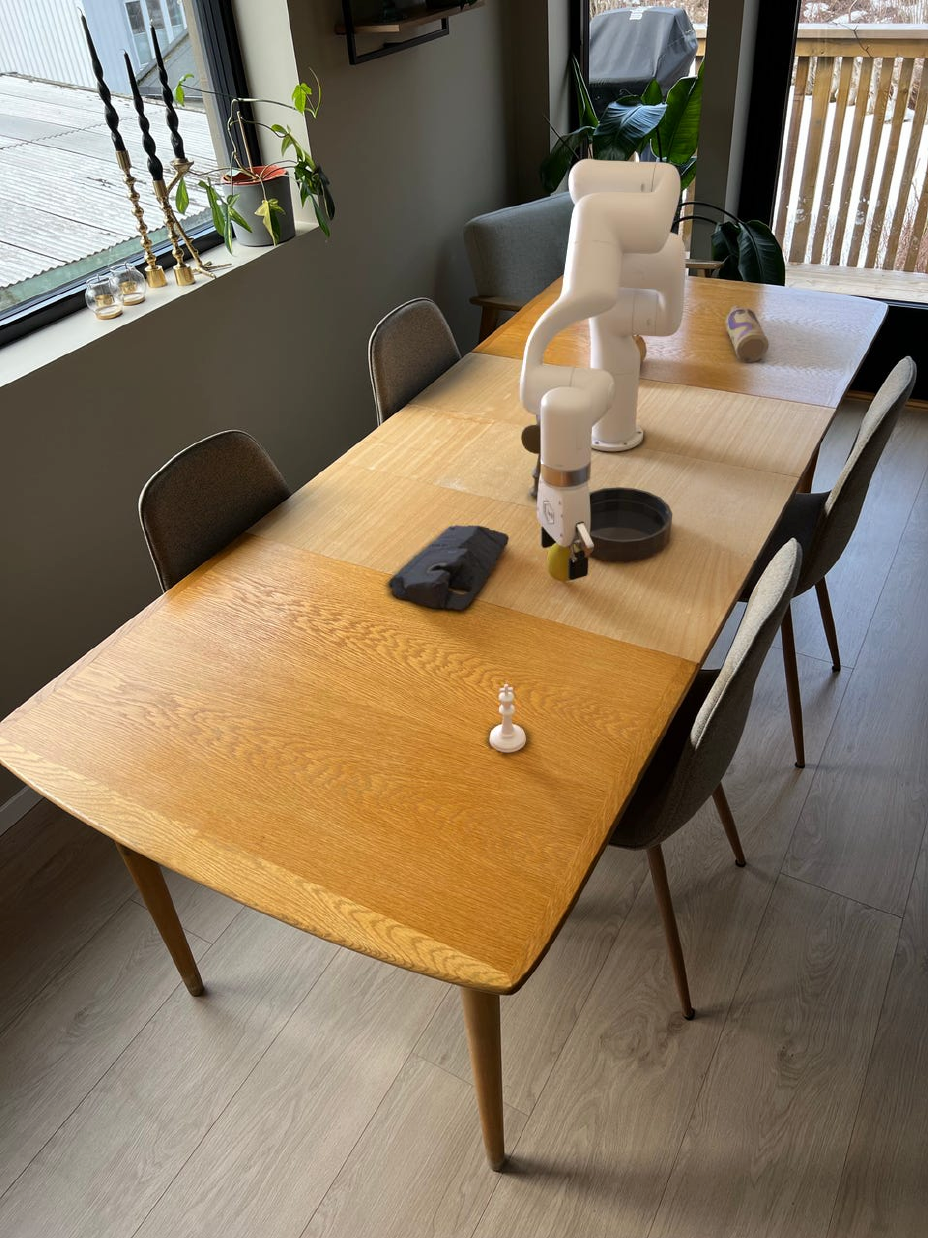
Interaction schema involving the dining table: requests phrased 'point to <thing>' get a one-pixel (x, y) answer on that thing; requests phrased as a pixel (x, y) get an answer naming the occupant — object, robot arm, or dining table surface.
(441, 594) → the dark slate chunk
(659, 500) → the pan
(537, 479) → the kendama
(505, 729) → the chess piece
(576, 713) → the dining table surface
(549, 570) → the lemon
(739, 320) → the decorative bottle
